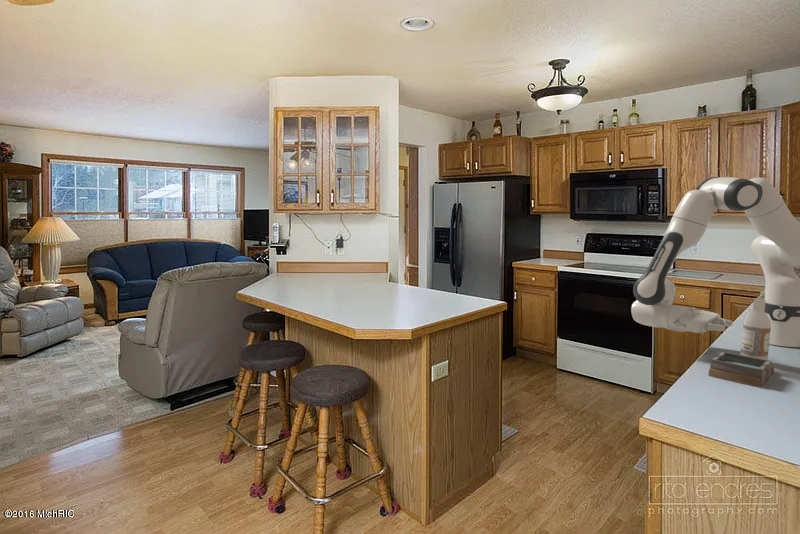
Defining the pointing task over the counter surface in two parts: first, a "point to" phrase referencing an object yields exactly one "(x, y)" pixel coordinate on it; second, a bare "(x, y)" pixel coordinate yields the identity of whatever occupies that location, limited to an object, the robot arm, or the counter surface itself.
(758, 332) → the bath foam
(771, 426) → the counter surface
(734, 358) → the tray
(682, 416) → the counter surface
